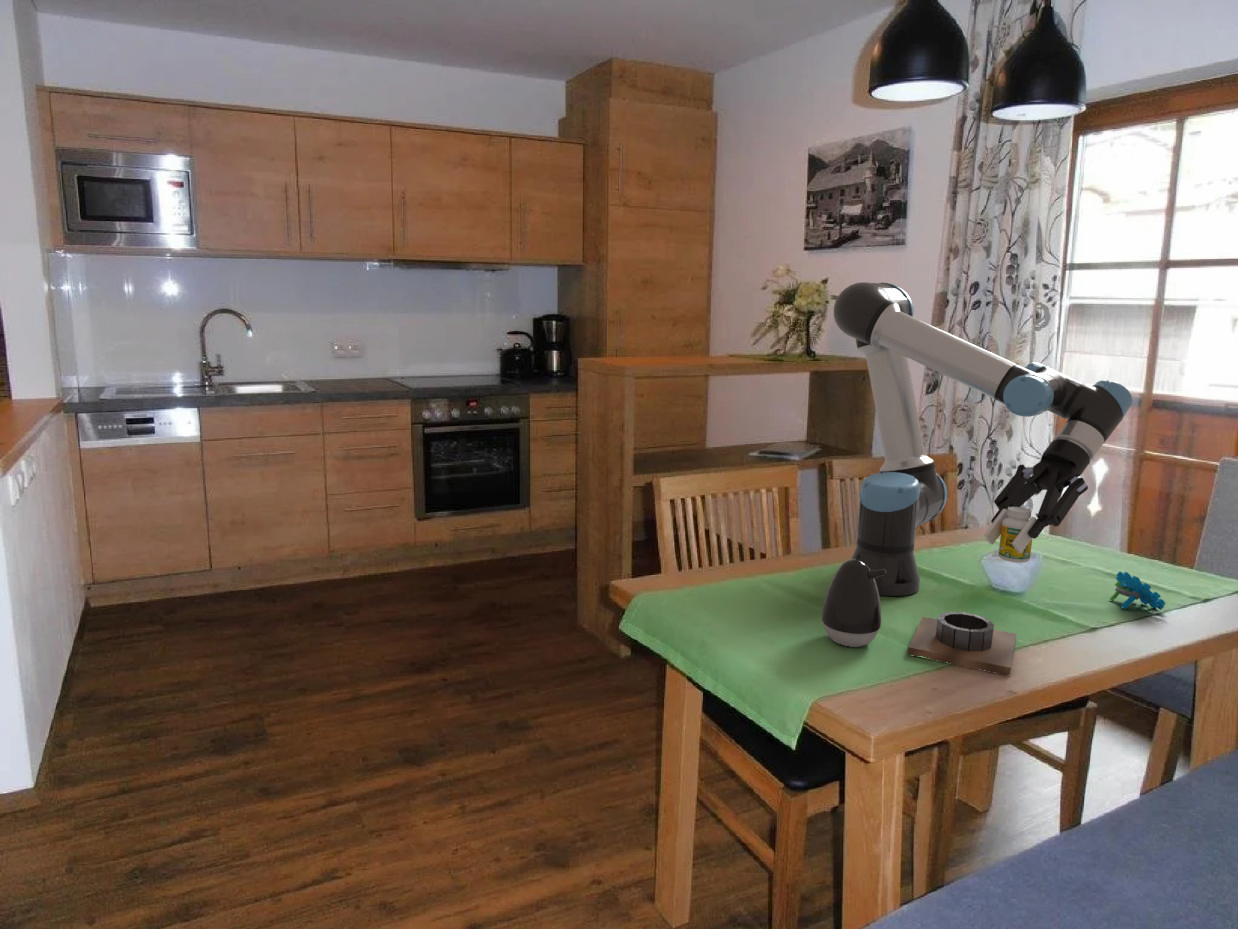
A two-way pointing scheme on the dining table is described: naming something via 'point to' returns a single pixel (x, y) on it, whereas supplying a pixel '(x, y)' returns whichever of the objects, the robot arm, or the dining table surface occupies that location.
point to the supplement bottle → (1014, 535)
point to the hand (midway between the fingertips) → (1002, 543)
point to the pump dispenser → (853, 604)
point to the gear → (1136, 591)
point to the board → (987, 660)
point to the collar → (964, 631)
